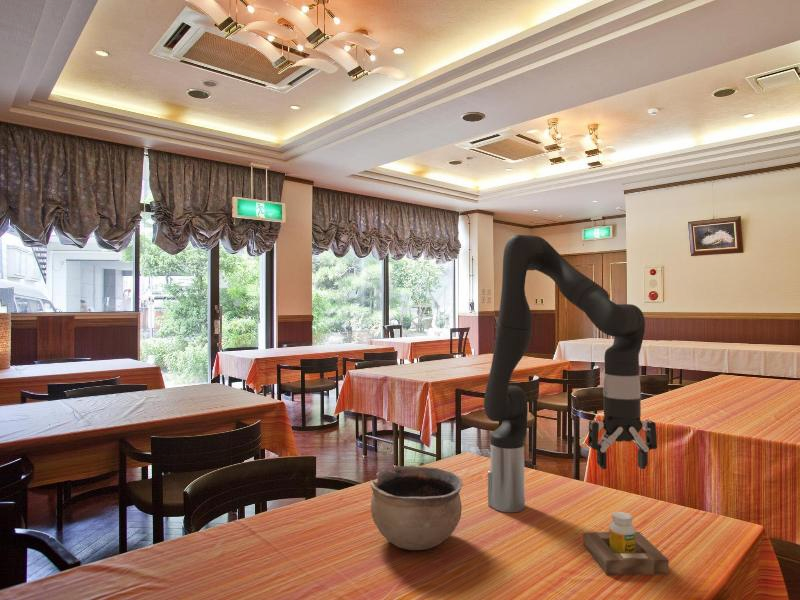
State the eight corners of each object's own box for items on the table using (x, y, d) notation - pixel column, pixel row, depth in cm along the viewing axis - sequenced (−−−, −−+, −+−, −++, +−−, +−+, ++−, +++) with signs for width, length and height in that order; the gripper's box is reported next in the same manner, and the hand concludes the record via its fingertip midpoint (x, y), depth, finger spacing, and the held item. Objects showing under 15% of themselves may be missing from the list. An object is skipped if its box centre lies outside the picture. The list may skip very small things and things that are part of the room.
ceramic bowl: (396, 516, 137) (396, 460, 137) (475, 531, 127) (474, 471, 127) (353, 553, 117) (352, 487, 117) (442, 574, 107) (442, 502, 108)
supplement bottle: (619, 550, 117) (618, 508, 117) (641, 560, 113) (640, 516, 113) (604, 557, 114) (603, 514, 114) (626, 567, 110) (626, 522, 110)
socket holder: (606, 574, 107) (606, 559, 107) (583, 545, 120) (583, 531, 120) (668, 574, 107) (668, 558, 107) (639, 544, 120) (638, 530, 120)
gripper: (596, 398, 110) (596, 474, 110) (662, 397, 110) (663, 473, 110) (583, 391, 117) (584, 463, 117) (645, 391, 117) (646, 462, 117)
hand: (622, 468), depth 113 cm, fingers open, 8 cm apart
